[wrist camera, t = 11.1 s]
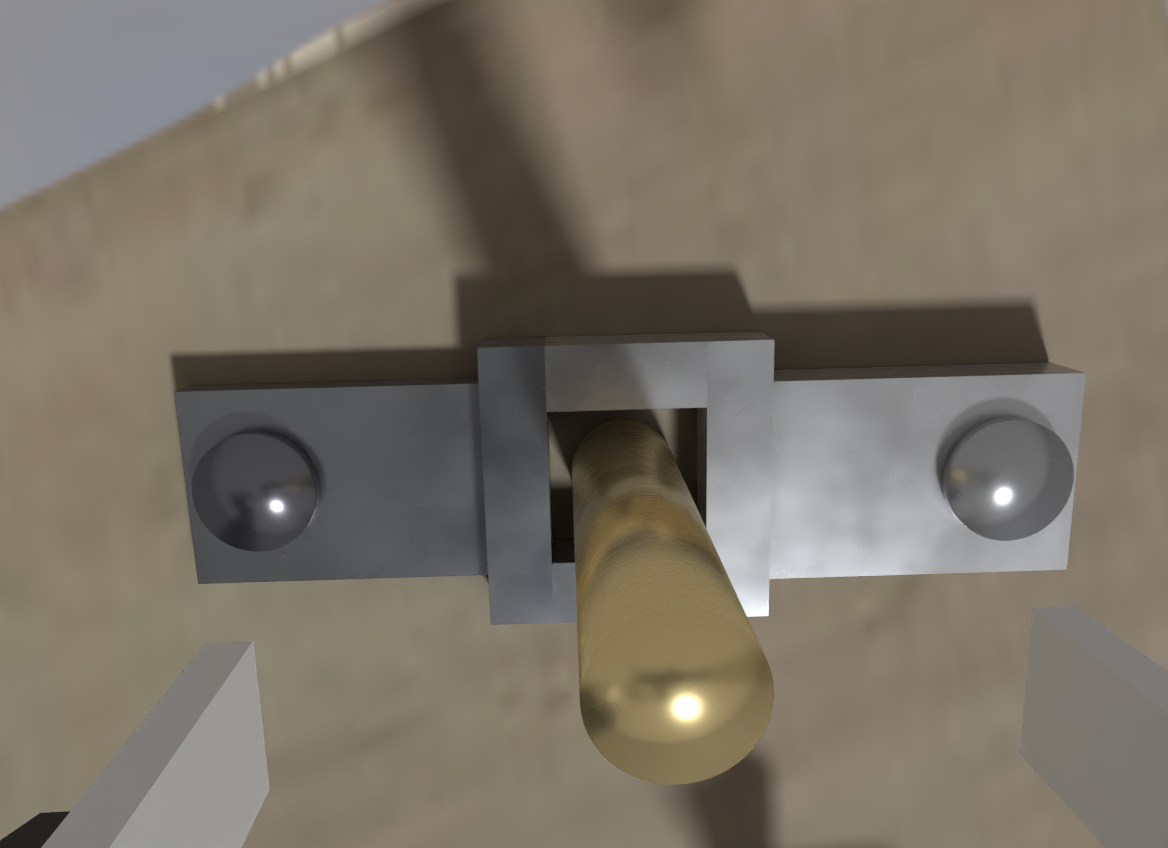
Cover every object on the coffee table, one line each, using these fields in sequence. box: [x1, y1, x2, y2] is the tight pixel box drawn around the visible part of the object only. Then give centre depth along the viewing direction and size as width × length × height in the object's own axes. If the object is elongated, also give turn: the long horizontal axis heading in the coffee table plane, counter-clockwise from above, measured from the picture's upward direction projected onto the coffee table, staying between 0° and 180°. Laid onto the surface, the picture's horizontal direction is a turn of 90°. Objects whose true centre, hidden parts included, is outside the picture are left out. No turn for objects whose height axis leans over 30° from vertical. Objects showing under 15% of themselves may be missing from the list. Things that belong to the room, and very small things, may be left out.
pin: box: [572, 420, 774, 785], centre depth 22 cm, size 3×3×14 cm
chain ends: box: [174, 331, 1086, 625], centre depth 27 cm, size 26×8×3 cm, turn 91°
